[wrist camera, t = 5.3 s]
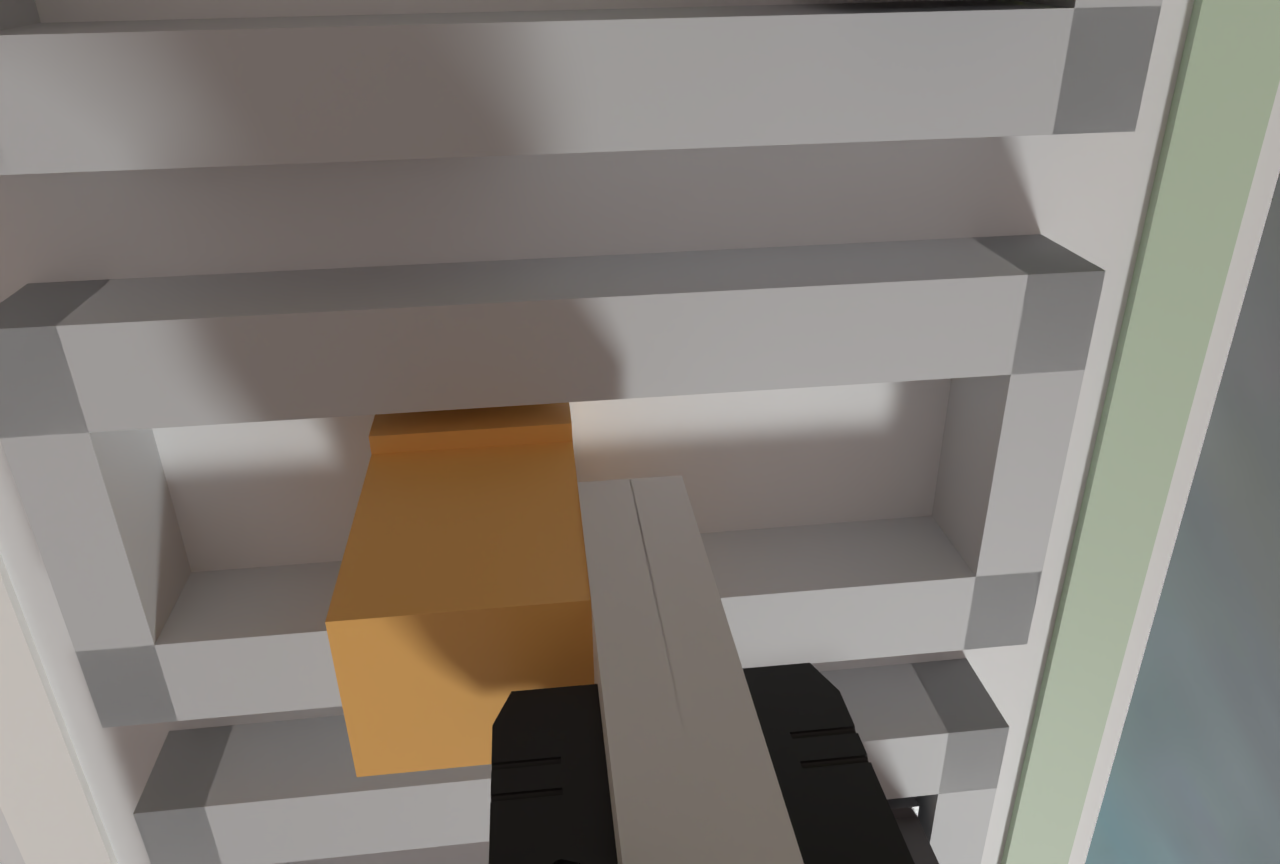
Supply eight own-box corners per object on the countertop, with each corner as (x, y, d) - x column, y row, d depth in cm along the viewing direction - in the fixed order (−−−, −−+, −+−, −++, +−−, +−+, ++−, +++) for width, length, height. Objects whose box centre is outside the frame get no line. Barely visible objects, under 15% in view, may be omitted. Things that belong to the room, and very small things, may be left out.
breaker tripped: (405, 540, 17) (360, 794, 12) (383, 386, 16) (320, 600, 11) (574, 527, 18) (599, 771, 12) (565, 375, 16) (590, 579, 11)
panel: (94, 950, 23) (30, 1106, 20) (-551, -586, 11) (-968, -790, 8) (1046, 845, 26) (1120, 970, 22) (1393, -527, 13) (1660, -668, 10)
